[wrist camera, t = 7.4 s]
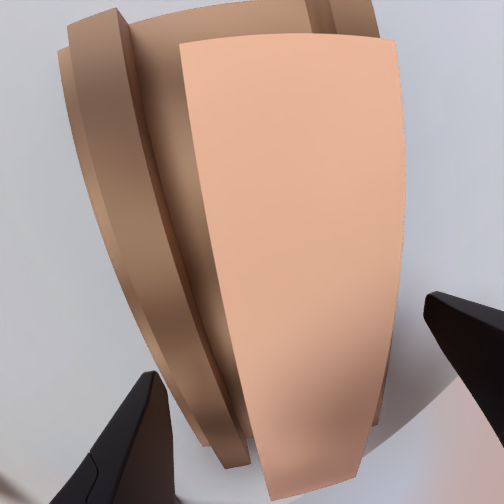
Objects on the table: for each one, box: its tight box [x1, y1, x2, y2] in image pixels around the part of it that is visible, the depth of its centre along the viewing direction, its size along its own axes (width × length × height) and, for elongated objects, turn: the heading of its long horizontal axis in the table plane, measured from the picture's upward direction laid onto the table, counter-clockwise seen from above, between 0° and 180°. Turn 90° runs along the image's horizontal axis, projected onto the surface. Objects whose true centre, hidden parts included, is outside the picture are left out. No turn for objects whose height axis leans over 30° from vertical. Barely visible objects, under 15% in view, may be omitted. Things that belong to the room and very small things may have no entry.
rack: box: [57, 0, 393, 469], centre depth 13 cm, size 22×12×3 cm, turn 10°
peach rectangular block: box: [179, 33, 405, 501], centre depth 10 cm, size 16×4×6 cm, turn 7°
